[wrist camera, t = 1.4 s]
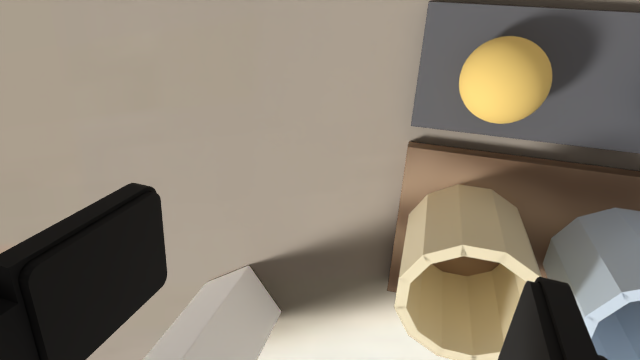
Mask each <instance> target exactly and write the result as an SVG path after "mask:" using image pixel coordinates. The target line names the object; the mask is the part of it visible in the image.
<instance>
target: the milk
mask: <svg viewBox="0 0 640 360" xmlns="http://www.w3.org/2000/svg"><path fill="white" fill-rule="evenodd" d="M280 314H281V310H280V309H279V307H278V306H277V304H276V303H275V302H274V300H273V299H272V297H271V296H270V294H269V293H268V292H267V290H266V289H265V287H264V286H263V284H262V283H261V282H260V280H259V279H258V277H257V276H256V274H255V273H254V272H253V270H252V269H251V267H250V266H246V267H243V268H241V269H238V270H236V271H233V272H231V273H228V274H226V275H223V276H221V277H218V278H216V279H213V280H211V281H208V282H206V283H205V284H204V286H203V287H202V288H201V289H200V291H199V292H198V293H197V294H196V295H195V297H194V298H193V299H192V300H191V302H190V303H189V304H188V305H187V306H186V308H185V309H184V310H183V311H182V313H181V314H180V315H179V316H178V317H177V319H176V320H175V321H174V322H173V323H172V325H171V326H170V327H169V328H168V330H167V331H166V332H165V333H164V334H163V336H162V337H161V338H160V339H159V341H158V342H157V343H156V344H155V345H154V347H153V348H152V349H151V350H150V352H149V353H148V354H147V355H146V356H145V358H144V359H143V360H257V359H258V357H259V355H260V353H261V351H262V349H263V347H264V345H265V343H266V341H267V339H268V337H269V335H270V333H271V331H272V329H273V327H274V325H275V324H276V322H277V320H278V318H279V316H280Z"/></svg>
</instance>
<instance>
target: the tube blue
mask: <svg viewBox="0 0 640 360" xmlns="http://www.w3.org/2000/svg"><path fill="white" fill-rule="evenodd" d="M543 267H544V269H545V272H546V275H547V278H548V279H552V280H557V281H561V282H565V283H568V284H569V285H570V287H571V290H572V292H573V295H574V297H575V300H576V302H577V305H578V307H579V310H580V312H581V315H582V317H583V320H584V322H585V325H586V327H587V330H588V332H589V335H590V337H591V339H592V342H593V344H594V347H595V349H596V352H597V354H598V355H601V356H604V357H605V358H607V359H608V360H640V211H635V210H628V209H622V208H611V209H607V210H604V211H600V212H596V213H592V214H588V215H584V216H580V217H577V218H576V219H574V220H573V221H572V222H571V223H569V224H568V225H567V226H566V227H565V228H563V229H562V230H561V231H560V232H558V233H557V234H556V235H555V236H553V237H552V238H551V240H550V243H549V246H548V249H547V252H546V255H545V258H544V261H543Z"/></svg>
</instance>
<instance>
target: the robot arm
mask: <svg viewBox="0 0 640 360" xmlns="http://www.w3.org/2000/svg"><path fill="white" fill-rule="evenodd" d="M166 278H167V266H166V255H165V244H164V233H163V221H162V210H161V200H160V196H159V195H158V194H157V193H156V191H155V189H154V188H153V187H150V186H145V185H141V184H137V183H130V184H128V185H126V186H124V187H122V188H121V189H119V190H117V191H115V192H113V193H111V194H110V195H108V196H106V197H104V198H102V199H100V200H99V201H97V202H95V203H93V204H91V205H89V206H87V207H86V208H84V209H82V210H80V211H78V212H76V213H75V214H73V215H71V216H69V217H67V218H65V219H64V220H62V221H60V222H58V223H56V224H54V225H53V226H51V227H49V228H47V229H45V230H43V231H41V232H40V233H38V234H36V235H34V236H32V237H30V238H29V239H27V240H25V241H23V242H21V243H19V244H18V245H16V246H14V247H12V248H10V249H8V250H6V251H5V252H3V253H1V254H0V360H86V359H87V358H88V357H89V356H90V355H91V354H92V353H93V352H94V351H95V350H96V349H97V348H98V347H99V346H100V345H102V344H103V343H104V342H105V341H106V340H107V339H108V338H109V337H110V336H111V335H112V334H113V333H114V332H115V331H116V330H117V329H118V328H119V327H120V326H121V325H123V324H124V323H125V322H126V321H127V320H128V319H129V318H130V317H131V316H132V315H133V314H134V313H135V312H136V311H137V310H138V309H139V308H140V307H141V306H142V305H144V304H145V303H146V302H147V301H148V300H149V299H150V298H151V297H152V296H153V295H154V294H155V293H156V292H157V291H158V290H159V289H160V288H161V287H162V286H163V285H164V283H165V281H166ZM498 360H608V359H607V358H605V357H604V356H601V355H598V354H597V352H596V349H595V347H594V344H593V342H592V339H591V337H590V335H589V332H588V330H587V327H586V325H585V322H584V320H583V317H582V315H581V312H580V310H579V307H578V305H577V302H576V300H575V297H574V295H573V292H572V290H571V287H570V285H569V284H568V283H565V282H561V281H557V280H552V279H548V278H544V277H537V279H536V280H535V282H532V281H527V282H526V283H525V285H524V288H523V290H522V293H521V296H520V299H519V301H518V304H517V307H516V310H515V313H514V315H513V318H512V321H511V324H510V327H509V329H508V332H507V335H506V338H505V340H504V343H503V346H502V349H501V352H500V354H499V357H498Z"/></svg>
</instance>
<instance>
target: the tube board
mask: <svg viewBox="0 0 640 360" xmlns="http://www.w3.org/2000/svg"><path fill="white" fill-rule="evenodd" d="M458 184H459V185H466V186H473V187H480V188H487V189H492V190H493V191H495V192H496V193H497V194H499V195H500V196H501V197H503V198H504V199H506V200H507V201H508V202H510V203H511V204H512V205H514V206H515V207H517V209H518V212H519V214H520V217H521V220H522V222H523V225H524V227H525V230H526V233H527V235H528V238H529V241H530V244H531V247H532V250H533V253H534V256H535V259H536V262H537V264H538V267H539V270H540V273H541V276H542V277H544V278H547V275H546V272H545V269H544V267H543V261H544V258H545V255H546V252H547V249H548V246H549V243H550V240H551V238H552V237H553V236H555V235H556V234H557V233H558V232H560V231H561V230H562V229H563V228H565V227H566V226H567V225H568V224H569V223H571V222H572V221H573V220H574V219H576V218H577V217H580V216H584V215H588V214H592V213H596V212H600V211H604V210H607V209H611V208H622V209H628V210H635V211H640V171H633V170H626V169H618V168H610V167H602V166H595V165H587V164H579V163H571V162H564V161H556V160H548V159H540V158H533V157H525V156H517V155H509V154H502V153H494V152H486V151H478V150H471V149H463V148H455V147H447V146H440V145H432V144H424V143H416V142H409V144H408V149H407V156H406V163H405V170H404V177H403V184H402V191H401V198H400V204H399V211H398V218H397V225H396V232H395V239H394V246H393V253H392V260H391V267H390V274H389V281H388V288H387V291H392V292H396V293H397V286H398V280H399V273H400V267H401V261H402V254H403V248H404V242H405V235H406V229H407V223H408V216H409V214H410V213H411V211H412V210H413V209H414V208H415V207H416V206H417V205H418V204H419V203H420V202H421V201H422V200H423V199H424V198H425V196H426V195H427V194H429V193H432V192H436V191H439V190H442V189H445V188H448V187H451V186H454V185H458ZM499 264H501V263H498V262H493V261H488V260H482V259H477V258H471V257H466V256H462V257H458V258H454V259H450V260H446V261H442V262H437V263H433V264H432V265H434V266H435V267H437V268H438V269H439V270H441V271H442V272H447V273H452V274H457V275H462V276H471V275H476V274H480V273H485V272H489V271H492V270H493V269H495V268H496V267H497V266H498V265H499Z"/></svg>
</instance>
